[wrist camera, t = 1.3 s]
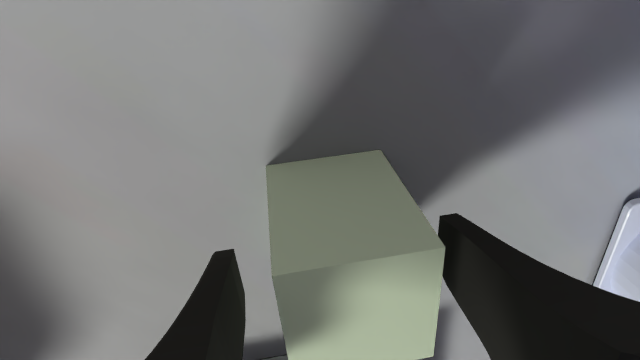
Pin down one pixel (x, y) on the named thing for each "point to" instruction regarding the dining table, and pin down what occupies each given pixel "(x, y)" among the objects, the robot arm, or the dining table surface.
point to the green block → (352, 260)
